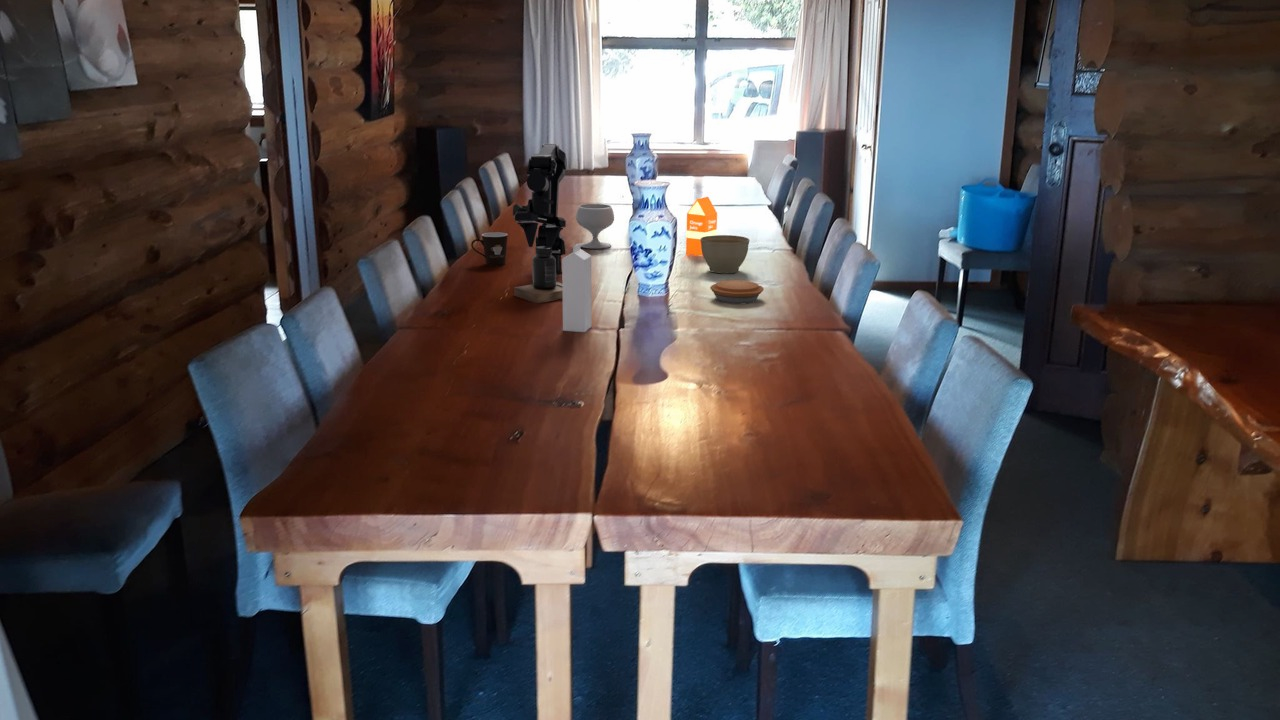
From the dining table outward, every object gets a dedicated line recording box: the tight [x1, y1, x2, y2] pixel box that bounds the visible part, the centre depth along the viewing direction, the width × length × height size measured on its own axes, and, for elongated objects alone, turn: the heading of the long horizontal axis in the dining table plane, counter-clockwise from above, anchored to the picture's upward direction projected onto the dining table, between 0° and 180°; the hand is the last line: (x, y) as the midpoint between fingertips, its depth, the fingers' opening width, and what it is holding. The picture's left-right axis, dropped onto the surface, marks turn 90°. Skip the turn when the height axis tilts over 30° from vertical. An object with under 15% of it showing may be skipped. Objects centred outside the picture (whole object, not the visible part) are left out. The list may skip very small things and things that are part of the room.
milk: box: [561, 242, 592, 333], centre depth 262 cm, size 6×6×22 cm
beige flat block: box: [513, 281, 563, 304], centre depth 300 cm, size 14×12×3 cm
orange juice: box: [685, 196, 718, 257], centre depth 365 cm, size 8×9×20 cm
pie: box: [709, 279, 765, 305], centre depth 299 cm, size 15×16×5 cm
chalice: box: [575, 203, 615, 250], centre depth 377 cm, size 14×14×15 cm
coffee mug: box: [470, 232, 509, 267], centre depth 344 cm, size 12×9×10 cm
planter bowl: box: [700, 234, 750, 275], centre depth 337 cm, size 16×16×11 cm
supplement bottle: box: [531, 246, 557, 290], centre depth 298 cm, size 7×7×12 cm
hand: (539, 248), depth 308 cm, fingers open, 9 cm apart
